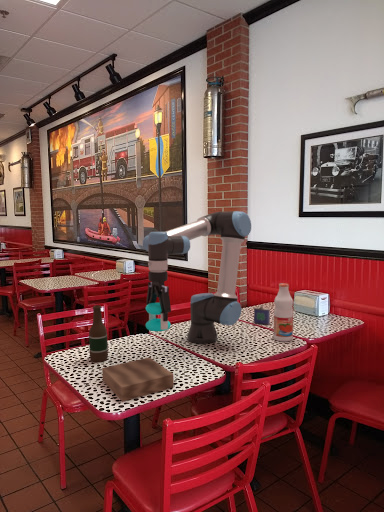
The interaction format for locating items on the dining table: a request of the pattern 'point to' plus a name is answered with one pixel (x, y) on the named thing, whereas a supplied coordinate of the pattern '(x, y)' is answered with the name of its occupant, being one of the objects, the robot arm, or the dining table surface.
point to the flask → (261, 316)
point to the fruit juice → (283, 314)
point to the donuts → (155, 323)
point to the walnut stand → (137, 378)
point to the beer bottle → (98, 337)
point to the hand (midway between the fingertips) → (158, 325)
